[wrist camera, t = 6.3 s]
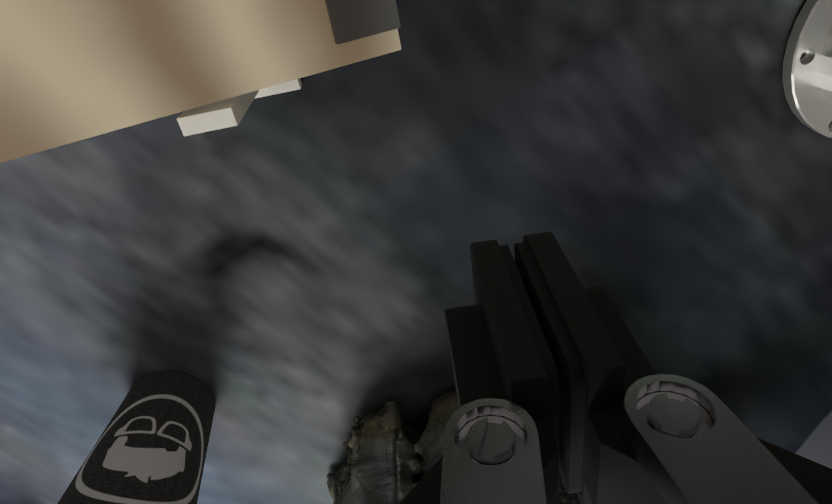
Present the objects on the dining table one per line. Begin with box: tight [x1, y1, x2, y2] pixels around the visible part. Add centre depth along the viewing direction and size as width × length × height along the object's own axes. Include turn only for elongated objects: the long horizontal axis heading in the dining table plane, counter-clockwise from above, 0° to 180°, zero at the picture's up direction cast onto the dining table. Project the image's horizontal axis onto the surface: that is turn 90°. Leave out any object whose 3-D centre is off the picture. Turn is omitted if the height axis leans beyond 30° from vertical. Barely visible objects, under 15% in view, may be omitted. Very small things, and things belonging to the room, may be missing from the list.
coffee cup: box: [58, 371, 215, 504], centre depth 37 cm, size 10×10×15 cm
